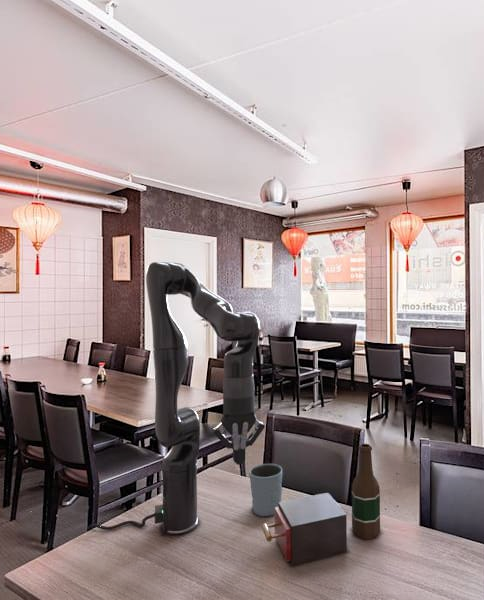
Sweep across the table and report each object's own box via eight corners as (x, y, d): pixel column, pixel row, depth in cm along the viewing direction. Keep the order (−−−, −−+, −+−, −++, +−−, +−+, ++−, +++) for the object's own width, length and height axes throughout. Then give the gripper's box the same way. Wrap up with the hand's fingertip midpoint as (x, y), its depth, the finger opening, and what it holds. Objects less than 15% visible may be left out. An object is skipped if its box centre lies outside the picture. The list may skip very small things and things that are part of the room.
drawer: (269, 565, 99) (269, 533, 99) (259, 539, 110) (259, 510, 109) (337, 548, 105) (337, 518, 105) (321, 525, 116) (321, 498, 116)
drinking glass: (280, 517, 122) (280, 477, 121) (246, 517, 122) (246, 477, 122) (284, 500, 132) (284, 463, 132) (252, 500, 132) (252, 463, 132)
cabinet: (292, 565, 100) (291, 526, 100) (278, 537, 112) (278, 502, 112) (346, 551, 105) (346, 514, 105) (328, 525, 117) (328, 492, 117)
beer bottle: (379, 541, 110) (378, 451, 109) (350, 537, 111) (349, 449, 111) (380, 524, 117) (380, 441, 117) (353, 522, 119) (353, 439, 119)
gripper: (262, 387, 107) (262, 453, 107) (209, 392, 102) (209, 461, 103) (268, 394, 100) (269, 465, 100) (212, 399, 95) (213, 473, 96)
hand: (239, 463), depth 101 cm, fingers closed
